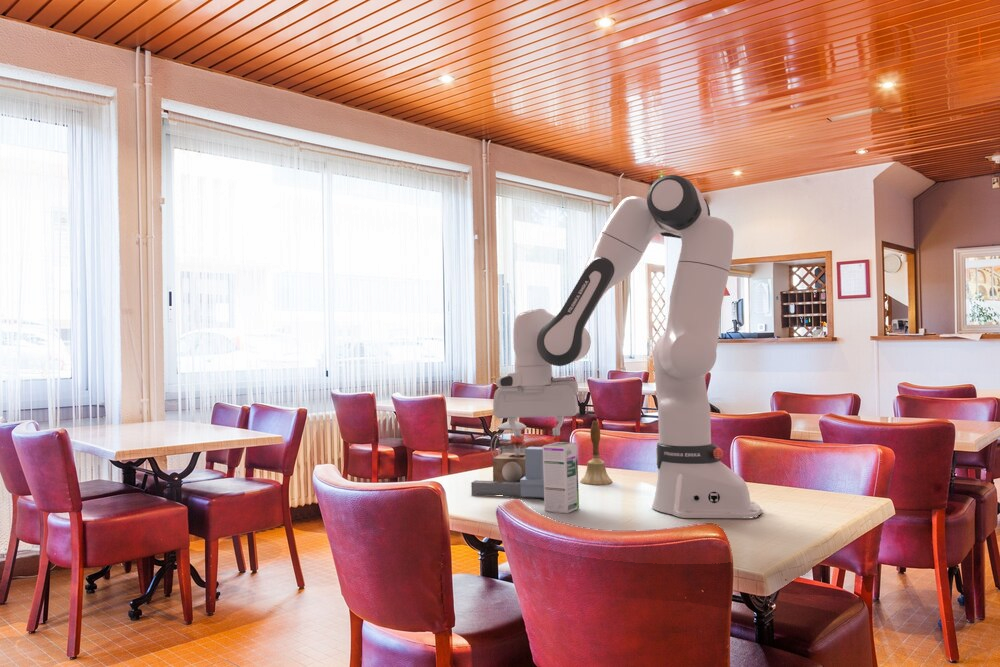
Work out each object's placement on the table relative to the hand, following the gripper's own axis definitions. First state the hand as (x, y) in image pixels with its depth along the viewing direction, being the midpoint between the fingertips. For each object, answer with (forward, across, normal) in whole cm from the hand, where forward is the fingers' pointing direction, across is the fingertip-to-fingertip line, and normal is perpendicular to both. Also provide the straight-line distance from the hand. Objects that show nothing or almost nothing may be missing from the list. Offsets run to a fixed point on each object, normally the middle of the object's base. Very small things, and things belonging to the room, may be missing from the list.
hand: (537, 436), depth 178 cm
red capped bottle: (+9, +8, -10) cm, 16 cm away
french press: (+14, +14, -24) cm, 31 cm away
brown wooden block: (+14, +8, -10) cm, 19 cm away
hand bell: (+15, -10, -22) cm, 29 cm away
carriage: (+14, +1, 0) cm, 14 cm away
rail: (+14, +6, 0) cm, 15 cm away
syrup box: (+15, -8, +13) cm, 21 cm away
